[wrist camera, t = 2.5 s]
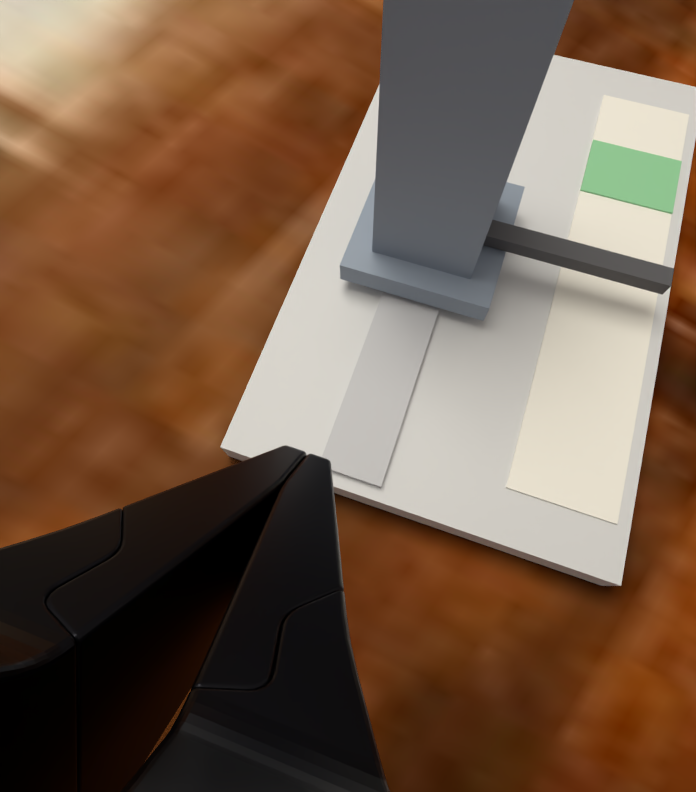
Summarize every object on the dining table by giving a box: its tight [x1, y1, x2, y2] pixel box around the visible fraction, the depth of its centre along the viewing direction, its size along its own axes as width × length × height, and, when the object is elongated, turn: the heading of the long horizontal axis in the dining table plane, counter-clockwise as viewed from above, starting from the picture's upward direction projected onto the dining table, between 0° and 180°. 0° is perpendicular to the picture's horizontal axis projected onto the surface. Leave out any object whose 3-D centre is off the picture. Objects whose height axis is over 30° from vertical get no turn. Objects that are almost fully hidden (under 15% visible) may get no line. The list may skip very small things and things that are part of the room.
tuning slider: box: [340, 0, 674, 321], centre depth 16 cm, size 6×12×12 cm, turn 71°
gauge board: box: [221, 55, 696, 586], centre depth 23 cm, size 24×15×2 cm, turn 161°
